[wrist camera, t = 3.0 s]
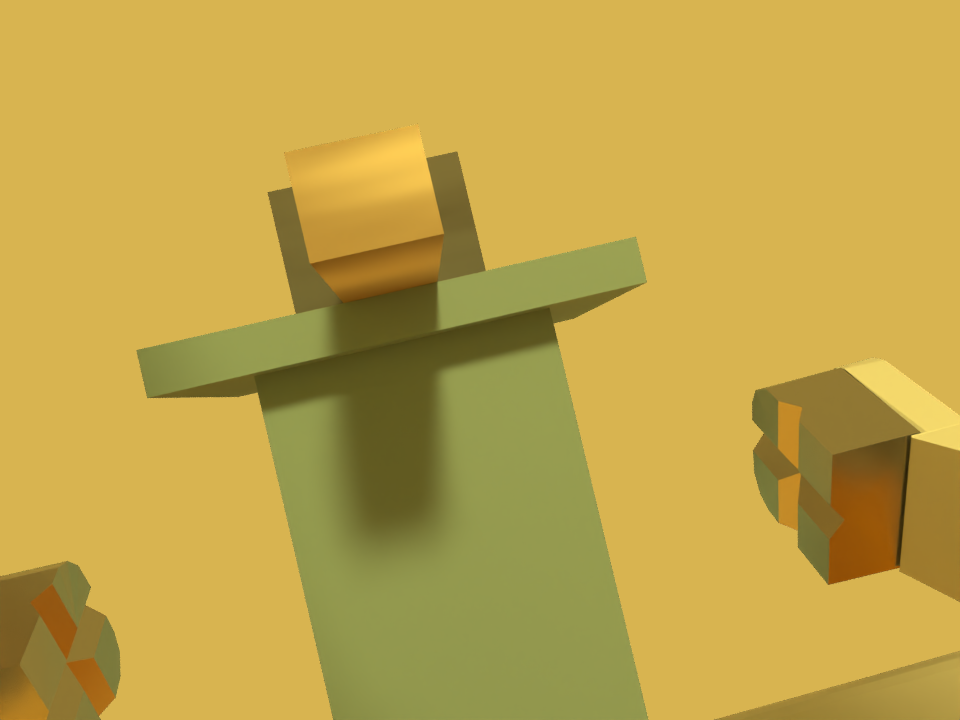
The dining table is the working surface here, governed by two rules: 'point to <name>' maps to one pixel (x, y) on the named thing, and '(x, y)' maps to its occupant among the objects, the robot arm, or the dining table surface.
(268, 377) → the stand
